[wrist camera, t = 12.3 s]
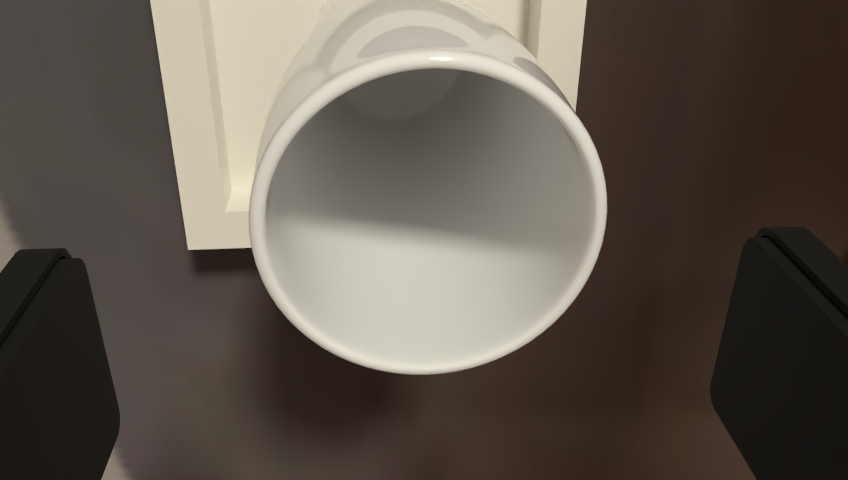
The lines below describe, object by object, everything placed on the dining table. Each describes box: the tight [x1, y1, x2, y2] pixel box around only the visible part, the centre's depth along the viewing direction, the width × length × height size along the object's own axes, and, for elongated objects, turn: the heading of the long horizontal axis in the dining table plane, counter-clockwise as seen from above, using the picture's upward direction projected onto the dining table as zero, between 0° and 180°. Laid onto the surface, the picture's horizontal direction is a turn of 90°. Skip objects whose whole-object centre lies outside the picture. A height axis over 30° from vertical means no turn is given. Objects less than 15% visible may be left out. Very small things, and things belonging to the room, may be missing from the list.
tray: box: [150, 0, 587, 250], centre depth 27 cm, size 14×14×2 cm
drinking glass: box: [249, 0, 607, 375], centre depth 21 cm, size 7×7×15 cm
